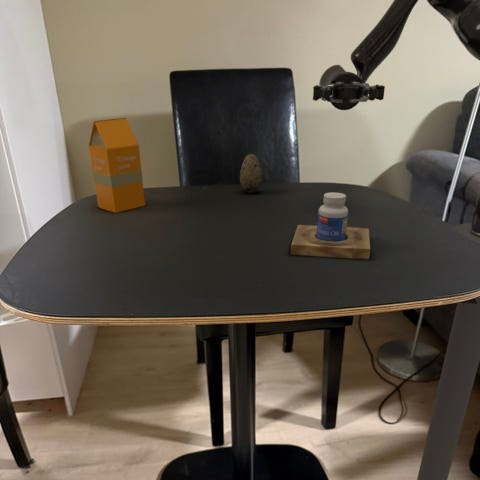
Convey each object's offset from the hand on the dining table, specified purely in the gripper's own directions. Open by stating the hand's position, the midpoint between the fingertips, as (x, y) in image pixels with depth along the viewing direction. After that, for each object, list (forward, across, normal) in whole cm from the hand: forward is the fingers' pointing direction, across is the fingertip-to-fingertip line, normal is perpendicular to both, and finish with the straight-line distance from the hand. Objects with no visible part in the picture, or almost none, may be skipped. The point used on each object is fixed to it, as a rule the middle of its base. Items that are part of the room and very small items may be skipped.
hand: (350, 94), depth 93 cm
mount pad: (+15, +3, -26) cm, 30 cm away
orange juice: (-9, +53, -25) cm, 59 cm away
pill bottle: (+15, +3, -26) cm, 30 cm away
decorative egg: (-26, +22, -25) cm, 42 cm away
